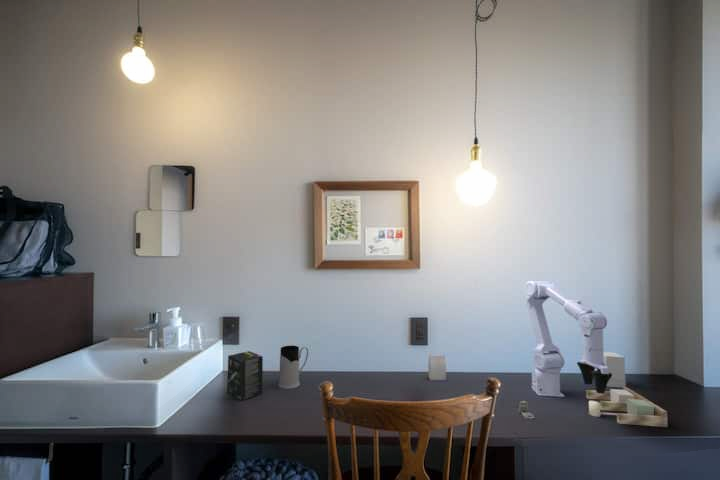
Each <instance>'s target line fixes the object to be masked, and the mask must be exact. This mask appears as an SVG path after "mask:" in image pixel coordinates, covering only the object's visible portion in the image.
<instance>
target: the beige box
mask: <svg viewBox="0 0 720 480" xmlns="http://www.w3.org/2000/svg"><path fill="white" fill-rule="evenodd" d="M445 356H446V355H435V354H434V355H431V354H429V356H428V371H427V372H428V373H427V375H428V377H427V378H428V379H429V381H446V380H447V373H446V372H447V371H446V370H447V369H446V368H447V367H446V366H447V365H446V357H445Z"/></svg>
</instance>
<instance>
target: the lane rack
mask: <svg viewBox="0 0 720 480" xmlns="http://www.w3.org/2000/svg"><path fill="white" fill-rule="evenodd" d="M622 390H626V391H628V392H629V393H631V394H633V395H634V399H635V400H644V401H646V402H647V403H649V404H650V405H652V406H654V416H652V415H637V414H627V402H614V401H611V392H610V390H608V391H606V390H605V393H597V392H596V389H595V390H592V389H591V390H590V389H586V391H585V393H586V396H585V397H586V399H587V400H588V399H589V400H600V401H599V403H600V411H608V412H609V411H611V412H616V414H617V415H616V422H617V423H618V424H621V425H636V426H645V427H647V426H648V427H649V426H650V427H662V428H668V426H669V425H668V411H667V410H665V409H664V408H662V407H660V406H659V405H657V404H655V403H654V402H652V401H651V400H649V399H647V398H646V397H644V396H642V395H641V394H639V393H637V392H635V391H634V390H633V389H631V388H629V387H627V386H626V387H623V388H622ZM617 412H618V413H617ZM619 412H620V413H619ZM621 412H623V413H621ZM624 412H626V413H624Z"/></svg>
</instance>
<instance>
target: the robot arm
mask: <svg viewBox="0 0 720 480" xmlns="http://www.w3.org/2000/svg"><path fill="white" fill-rule="evenodd" d="M523 291H524V296H525V298H526V305H527V308H528V313H529V317H530V319H531V324H532V329H533V332H534V336H535V341H536V343H537V346H536V347H534V349H533V350H532V351H533V352H532V353H533V362H534V365H535V367H536V368H533V369H532V370H531V387H530V388H531V389H532V390H533V391H534V392H535V393H536V394H537V395H538V396H543V397H546V396H547V397H560V398H565V394H564V393H562V392H561V379H560V378H561V377H560V376H561V375H560V372H561V371H562V368H563V367H565V359H564V356H563V354H562V353H561V352H560V348H559V347H558V346H556V345H555V344H554V342H553V341H552V337H551V336H552V335H551V333H550V328H549V326H548V322H547V318H546V315H545V312H544V308H543V304H544V303H545V302H546V301H547V300H548V299H552V300H554V301H555V302H556V303H558V304H559V305H561V306H563V307H564V311H565V312H566V314H568V315H570V316H571V317H572V318H574V319H575V320H576V321H577V322H578V326H579V327H580V330H581V334H582V350H583V351H582V352H583V353H582V354H579V361H578V362H576V364H577V366H578V368H579V370H580V372H581V375H582V379H583V382H584V384H585V385H591V386H592V385H593V381H594V387H595V388H594V389H595V391H596V392H597V393H605V391H606V389H607V383H608V381H609V379H610V378H611V377H612V374H611V373H610V372H609V368H608V367H607V366H606V364H605V363H604V354H603V352H604V329H605V328H606V327H607V325H608V321H607V318H606V316H605V315H604V314H603V313H602V312H599V311H593V309H592V308H590V307H587V306H586V305H585V304H583V303H582V301H581V300H579V299H573V298H572V299H571V298H569V297H568V296H567V295H566V294H564V293H563V292H562V291H561V290H560V289H558V288H557V286H556V284H555V283H552V281H549V280H545V281H544V280H543V281H542V280H540V281H539V280H537V281H534V280H533V281H532V280H529V281H527V282H526V283H525V285H524V287H523ZM595 369H596V370H595Z"/></svg>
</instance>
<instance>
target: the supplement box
mask: <svg viewBox="0 0 720 480" xmlns="http://www.w3.org/2000/svg"><path fill="white" fill-rule="evenodd" d="M603 354H604V363H605V364H606V366H607V367H608V368H609V372H610V373H611V374H612V377H611V378H610V379H609V381H608V383H607V386H606V388H607V387H608V388H621V389H623V387H627V384H626V364H625V363H626V361H625V356H624V355H621V354H619V353H617V352H612V351H603Z"/></svg>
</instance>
